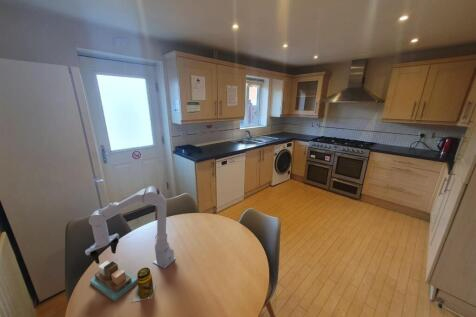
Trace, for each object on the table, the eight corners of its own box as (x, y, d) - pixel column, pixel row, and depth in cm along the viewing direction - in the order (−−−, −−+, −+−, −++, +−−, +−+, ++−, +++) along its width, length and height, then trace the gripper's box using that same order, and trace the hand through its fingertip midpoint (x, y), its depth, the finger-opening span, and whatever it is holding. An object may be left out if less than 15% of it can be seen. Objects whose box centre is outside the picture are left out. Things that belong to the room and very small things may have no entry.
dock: (137, 282, 93) (137, 279, 92) (114, 301, 83) (113, 298, 83) (113, 267, 101) (113, 264, 101) (90, 283, 92) (89, 280, 92)
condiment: (152, 298, 85) (149, 276, 82) (132, 302, 83) (128, 280, 80) (155, 284, 92) (153, 263, 89) (137, 287, 90) (133, 267, 87)
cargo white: (112, 270, 95) (111, 263, 94) (104, 276, 91) (102, 269, 90) (108, 267, 96) (107, 260, 96) (99, 272, 93) (98, 266, 92)
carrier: (131, 281, 91) (129, 267, 89) (117, 293, 85) (114, 278, 83) (110, 267, 99) (107, 254, 97) (95, 277, 93) (92, 263, 91)
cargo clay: (126, 278, 90) (124, 271, 89) (117, 285, 86) (116, 277, 85) (120, 275, 92) (119, 268, 91) (112, 281, 88) (111, 274, 87)
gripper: (111, 224, 99) (115, 246, 103) (79, 240, 87) (85, 264, 90) (120, 228, 96) (123, 250, 100) (87, 245, 84) (93, 270, 87)
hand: (106, 257), depth 95 cm, fingers open, 7 cm apart
